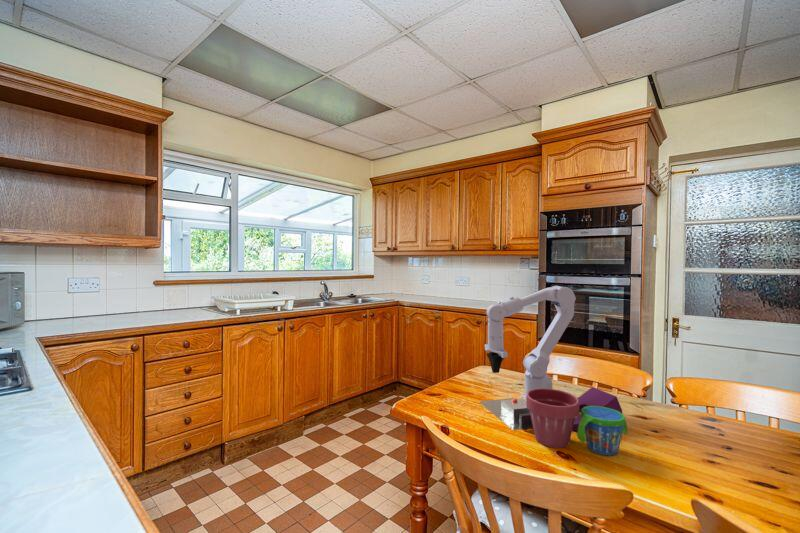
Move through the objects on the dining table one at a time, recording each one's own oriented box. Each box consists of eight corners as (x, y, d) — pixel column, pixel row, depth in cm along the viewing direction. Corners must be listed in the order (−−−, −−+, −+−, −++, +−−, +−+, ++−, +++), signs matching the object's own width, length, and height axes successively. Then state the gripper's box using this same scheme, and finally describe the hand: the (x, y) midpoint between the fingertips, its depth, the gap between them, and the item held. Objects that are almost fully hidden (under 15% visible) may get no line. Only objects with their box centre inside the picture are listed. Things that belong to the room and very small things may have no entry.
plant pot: (589, 452, 99) (589, 405, 99) (537, 453, 99) (537, 406, 99) (564, 428, 113) (564, 387, 113) (519, 429, 113) (519, 388, 113)
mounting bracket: (584, 452, 111) (625, 419, 116) (574, 428, 110) (616, 396, 115) (561, 438, 120) (601, 408, 125) (552, 416, 119) (592, 386, 124)
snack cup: (611, 437, 108) (611, 402, 108) (642, 455, 97) (642, 417, 97) (565, 443, 104) (564, 408, 104) (592, 463, 94) (592, 423, 94)
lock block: (522, 410, 127) (521, 396, 127) (535, 420, 119) (535, 405, 119) (501, 412, 125) (501, 398, 125) (513, 422, 118) (513, 407, 117)
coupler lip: (512, 398, 139) (512, 387, 139) (553, 426, 115) (552, 412, 115) (478, 402, 136) (478, 390, 136) (512, 431, 112) (512, 417, 112)
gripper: (477, 333, 145) (477, 367, 145) (494, 341, 131) (495, 379, 131) (493, 332, 147) (493, 366, 147) (512, 339, 133) (513, 377, 133)
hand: (495, 372), depth 139 cm, fingers closed
